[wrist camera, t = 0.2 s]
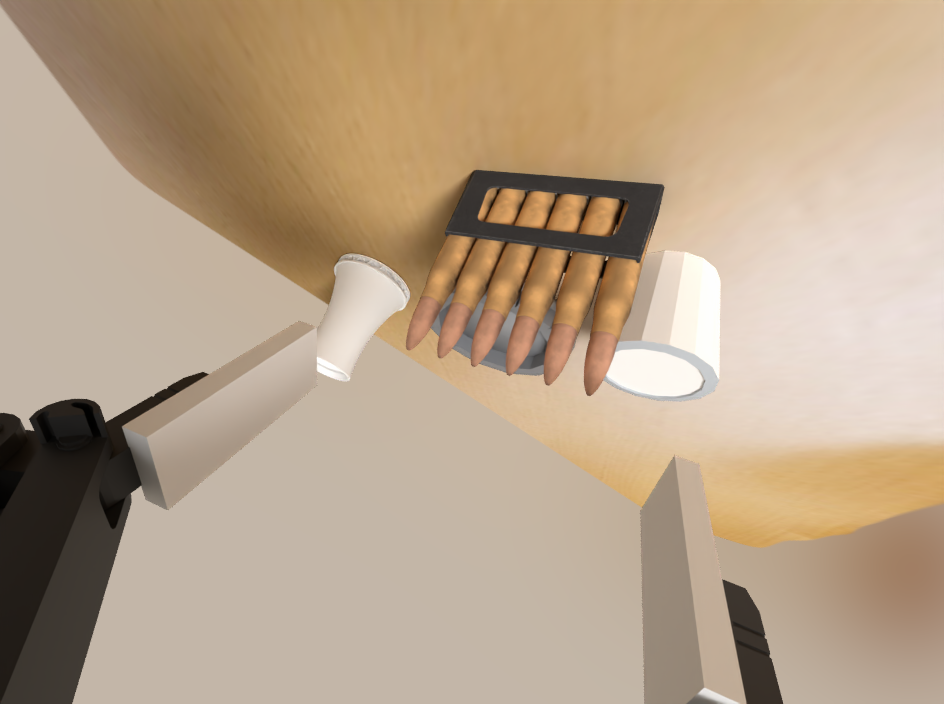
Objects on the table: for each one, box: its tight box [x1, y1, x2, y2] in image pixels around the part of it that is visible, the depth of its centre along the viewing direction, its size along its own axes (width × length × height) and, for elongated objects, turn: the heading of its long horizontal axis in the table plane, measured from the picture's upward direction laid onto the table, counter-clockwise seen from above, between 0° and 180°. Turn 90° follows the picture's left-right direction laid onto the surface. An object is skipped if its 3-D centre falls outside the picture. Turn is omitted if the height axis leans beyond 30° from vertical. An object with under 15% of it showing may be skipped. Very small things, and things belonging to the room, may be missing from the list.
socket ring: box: [431, 281, 577, 376], centre depth 39 cm, size 14×14×2 cm
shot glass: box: [603, 250, 720, 401], centre depth 26 cm, size 7×7×7 cm
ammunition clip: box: [406, 170, 664, 396], centre depth 22 cm, size 11×2×12 cm, turn 101°
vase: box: [317, 253, 410, 381], centre depth 39 cm, size 8×8×10 cm
